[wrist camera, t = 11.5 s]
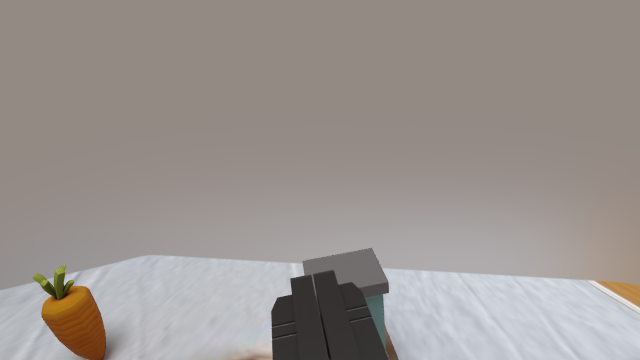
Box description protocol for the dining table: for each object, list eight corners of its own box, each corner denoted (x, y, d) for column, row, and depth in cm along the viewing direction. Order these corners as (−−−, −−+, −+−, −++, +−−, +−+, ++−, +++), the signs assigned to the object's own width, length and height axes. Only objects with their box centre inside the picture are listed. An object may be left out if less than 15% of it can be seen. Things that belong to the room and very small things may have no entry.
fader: (392, 383, 32) (388, 281, 26) (326, 398, 31) (307, 297, 26) (377, 342, 36) (371, 248, 31) (319, 354, 36) (302, 261, 30)
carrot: (72, 366, 42) (13, 278, 36) (111, 337, 45) (63, 252, 39) (88, 384, 39) (27, 292, 33) (128, 352, 43) (80, 263, 37)
